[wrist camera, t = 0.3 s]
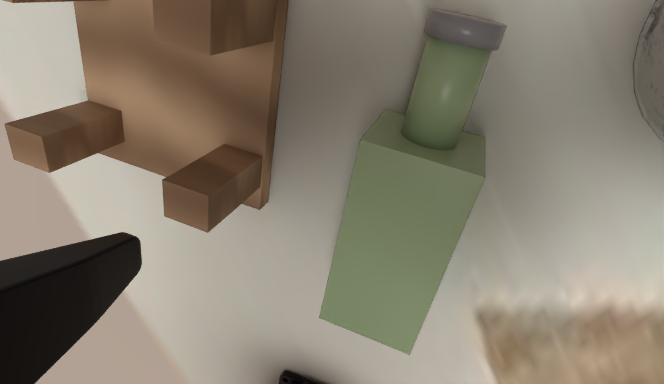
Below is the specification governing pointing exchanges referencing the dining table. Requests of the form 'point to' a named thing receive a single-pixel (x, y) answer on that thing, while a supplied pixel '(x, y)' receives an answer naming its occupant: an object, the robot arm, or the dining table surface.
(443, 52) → the bottle
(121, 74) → the cradle
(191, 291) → the dining table surface
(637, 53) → the grey cylinder
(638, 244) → the dining table surface
